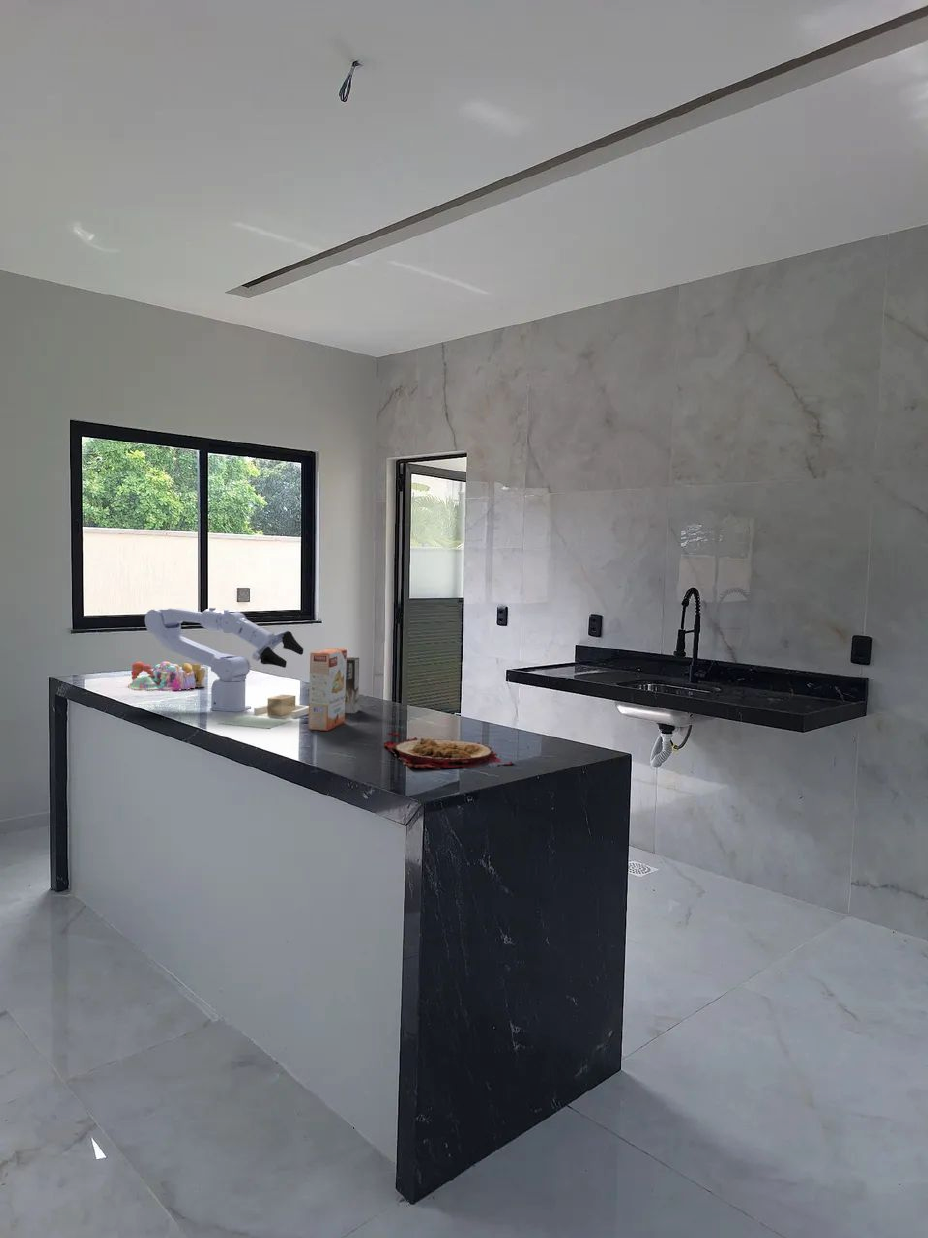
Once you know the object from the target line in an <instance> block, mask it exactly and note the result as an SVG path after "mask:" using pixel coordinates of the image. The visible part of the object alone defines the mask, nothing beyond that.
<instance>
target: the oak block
mask: <svg viewBox="0 0 928 1238" xmlns="http://www.w3.org/2000/svg"><path fill="white" fill-rule="evenodd" d="M267 704H268V707H267V716H266V717H270V716H277V717H276V718H281V717H283V716H286V715H289V714H291V711H295V705H296V695H293V694H292V695H290V694H278V695H275V696H271V697H268V698H267Z"/></svg>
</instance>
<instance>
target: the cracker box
mask: <svg viewBox="0 0 928 1238" xmlns="http://www.w3.org/2000/svg"><path fill="white" fill-rule="evenodd" d="M309 655H310V657H309V658H310V660H309V661H310V662H309V689H308V690H309V691H308V692H309V693H308V694H309V695H308V697H309V698H308V706H309V714H308V722H307V723H308V727H307V729H308V731H319V732H328V731H330V730H333V729H334V728H337V727H338V726H340V725H342V724H345V720H346V719H345V718H346V713H345V693H346V664H347V657H348V649H345V648H324V649H321V650H316V651H312V652H310V654H309Z"/></svg>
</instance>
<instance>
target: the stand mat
mask: <svg viewBox="0 0 928 1238" xmlns="http://www.w3.org/2000/svg"><path fill="white" fill-rule="evenodd" d="M292 721H293V719H292V720H291V719H290V720H289V719H279V718H270V717H257V716H249V715H248V716H247V715H240V716H237V717H234V718H230V719H226V720H223V721H220V722H217V725H223V726H234V727H244V728H255V729H265V730H266V729H267V730H271V729H273V728H275V727H279V726H282V725H285V724H287V723H290V722H292Z"/></svg>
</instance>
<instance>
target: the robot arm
mask: <svg viewBox="0 0 928 1238" xmlns="http://www.w3.org/2000/svg"><path fill="white" fill-rule="evenodd" d="M183 622H185V623H186V622H187V623H196V624H198V623H199V624H200V625H201V627H202V628H204V629H207V630H208V629H210V630H216V631H217V630H218V631H222V632H223V633H226V634H231V633H232V634H233V635H235V636H236V637H238V638H240V639H241V640H243V641H245V642H246V643H248V644H250V645H252V646H253V647H255V648H257V649H256V650H255V651H253V652H252V659H253V660H255V661H257V662H258V661H260V664H262V665H263V666H264V665H270V666H271V665H273V666H277V667H281V668H284V669H285V668H287V662H288V661H287V660H286V659H285V658H283V657H281V656H280V655H279V654H277V653H275V652H274V649H275V648H276V647H277V646H278V645H279V644H281V643H282V644H283V646H282V649H285V650H289V651H292V652H294V653H296V654H298V655H300V656H302V655H303V654H304V647H302V646H301V644H300V643H298V641H297V640H296V639H295V637H294V636H293V634H292V632H291V631H289V630H287V629H283V630H281V631H279V632H276V633H275V632H272V631H271V632H269V630H266V629H265V628H263V627H261V626H259V625H258V624H256V623H255V622H252V621H251V620H249V619H247V617H246V615H245V614H244V613H242V612H239V611H235V612H230V611H229V610H228V609H224V610H216V607H209V608H207V609H204V611H202V612H201V611H195V610H192V609H191V610H190V609H185V608H167V609H166V608H165V609H150V610H148V611H147V612H146V613H145V615H144V624H145V628H146V630H147V632H148V633H150V634H151V635H153V636H154V637H155V638H156V640H157V641H158V642H159V643H160V644H161V645H162V647H164V649H167V650H169V651H171V652H174V653H177V654H179V655H181V656H182V657H186V658H187V659H190V660H192V661H195V662H197V663H198V664H201V665H204V666H206V667H208V668H210V672H212V673H214V674H215V675H216V676H217V677H218V678H217V679H215V680H213V682H212V684H211V690H210V691H211V693H210V697H211V698H210V705H211V706H210V707H209V710H211V711H221V712H230V713H231V712H235V713H238V712H243V711H245V710H249V709H252V706H248V705H246V679H247V675H248V674H250V671H251V663H250V660H249V659H248V658H247V657H246V656H243V655H233V654H230V653H223V652H220V651H218V650H215V649H213V648H211V647H208V646H205V645H203V644H201V643H199V642H196V641H194V640H191V639H189V638H187V637H184V636H183V635H182V626H181V623H183Z"/></svg>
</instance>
